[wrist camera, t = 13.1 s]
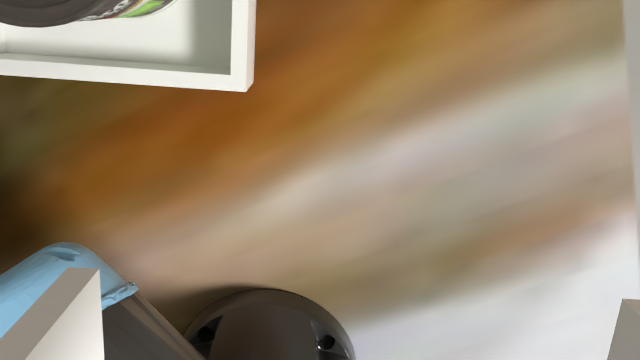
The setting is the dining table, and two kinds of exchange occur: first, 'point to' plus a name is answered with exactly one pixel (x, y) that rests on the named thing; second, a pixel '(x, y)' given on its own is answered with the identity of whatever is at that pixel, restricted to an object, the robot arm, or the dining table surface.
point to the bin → (143, 48)
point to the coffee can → (75, 11)
